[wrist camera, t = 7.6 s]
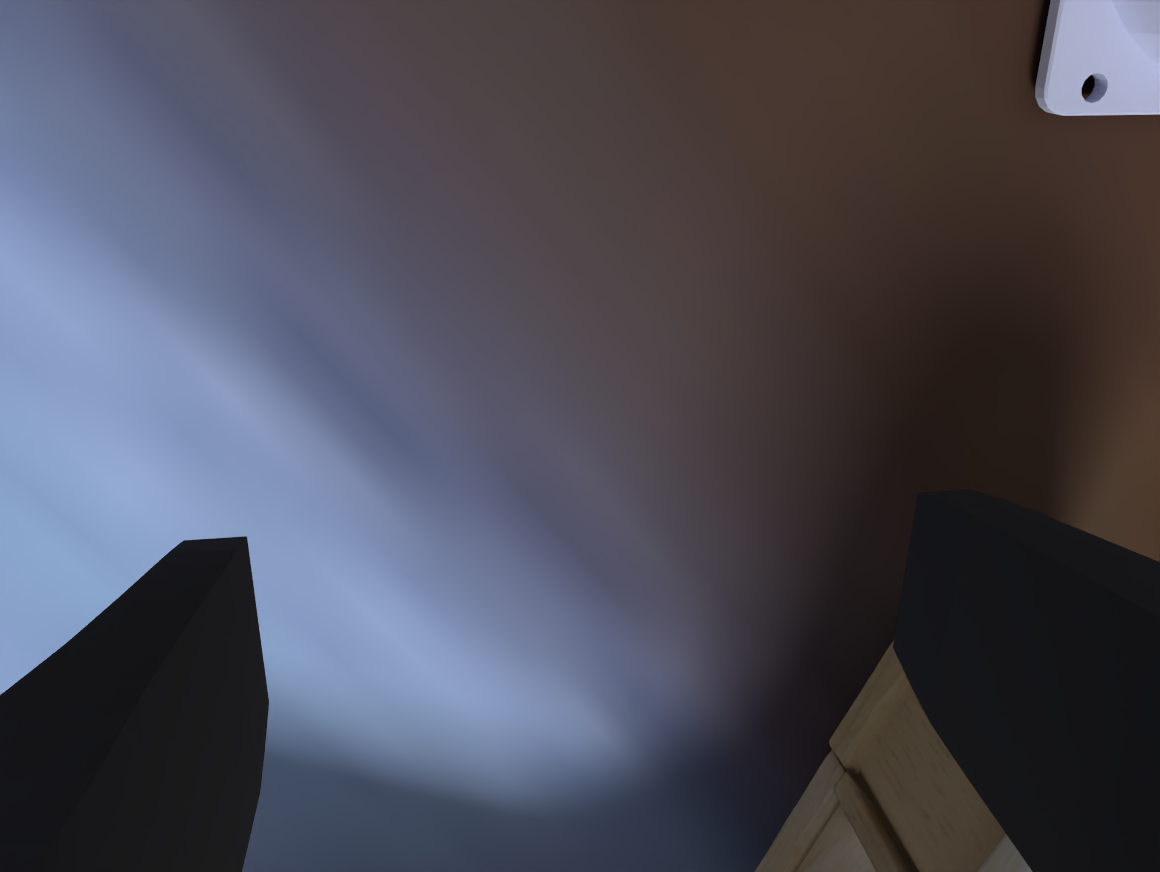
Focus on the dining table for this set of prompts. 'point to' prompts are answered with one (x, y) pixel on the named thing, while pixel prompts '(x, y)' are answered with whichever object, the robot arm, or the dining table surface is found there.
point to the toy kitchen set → (890, 797)
